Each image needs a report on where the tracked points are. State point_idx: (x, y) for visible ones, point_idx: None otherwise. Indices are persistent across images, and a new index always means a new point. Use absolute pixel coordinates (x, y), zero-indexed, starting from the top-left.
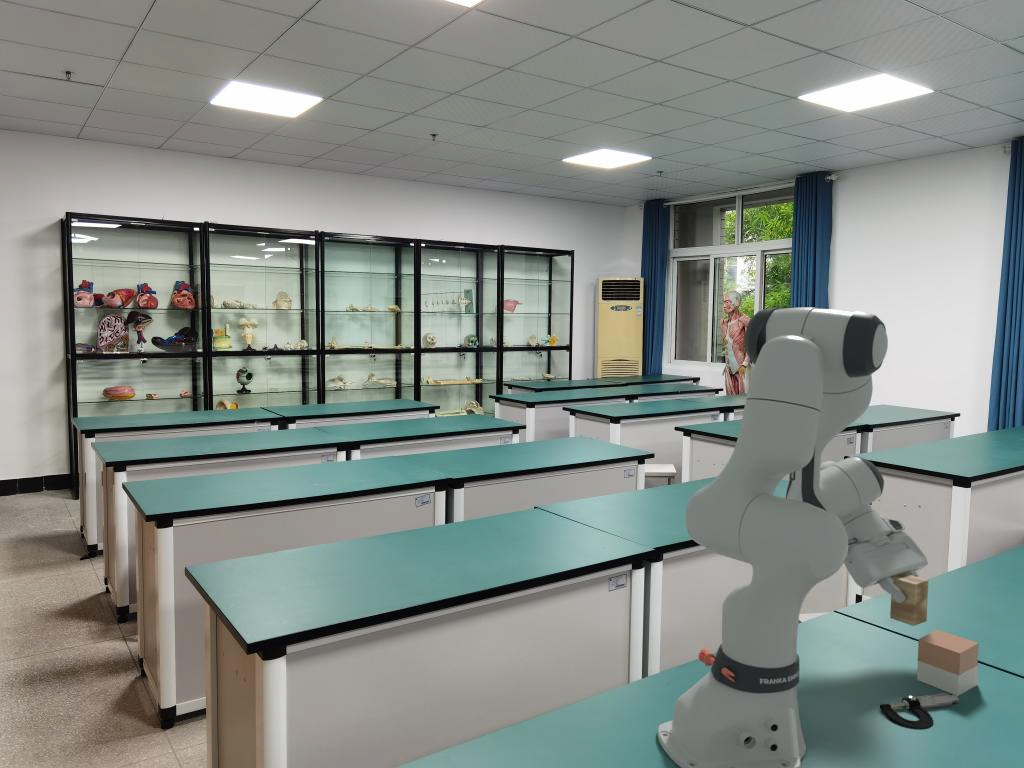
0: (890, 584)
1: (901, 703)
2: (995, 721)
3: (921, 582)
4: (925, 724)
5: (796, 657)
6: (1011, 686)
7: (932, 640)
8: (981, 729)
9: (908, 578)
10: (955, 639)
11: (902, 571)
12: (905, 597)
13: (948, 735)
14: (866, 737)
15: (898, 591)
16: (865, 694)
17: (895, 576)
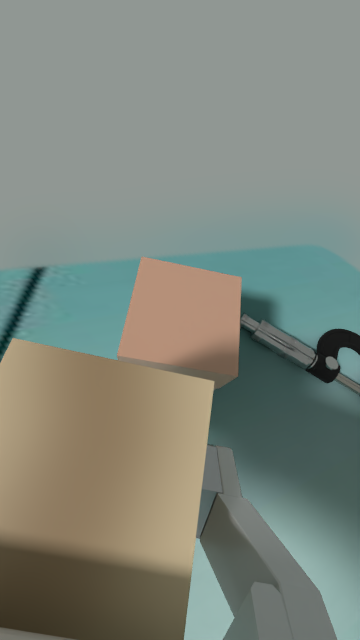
0: (307, 583)
1: (344, 377)
2: (250, 269)
3: (124, 362)
4: (347, 336)
5: None
6: (104, 266)
7: (216, 343)
8: (288, 279)
9: (79, 495)
10: (159, 300)
11: (5, 634)
12: (214, 447)
13: (342, 307)
14: None
15: (242, 498)
16: (348, 452)
17: None
